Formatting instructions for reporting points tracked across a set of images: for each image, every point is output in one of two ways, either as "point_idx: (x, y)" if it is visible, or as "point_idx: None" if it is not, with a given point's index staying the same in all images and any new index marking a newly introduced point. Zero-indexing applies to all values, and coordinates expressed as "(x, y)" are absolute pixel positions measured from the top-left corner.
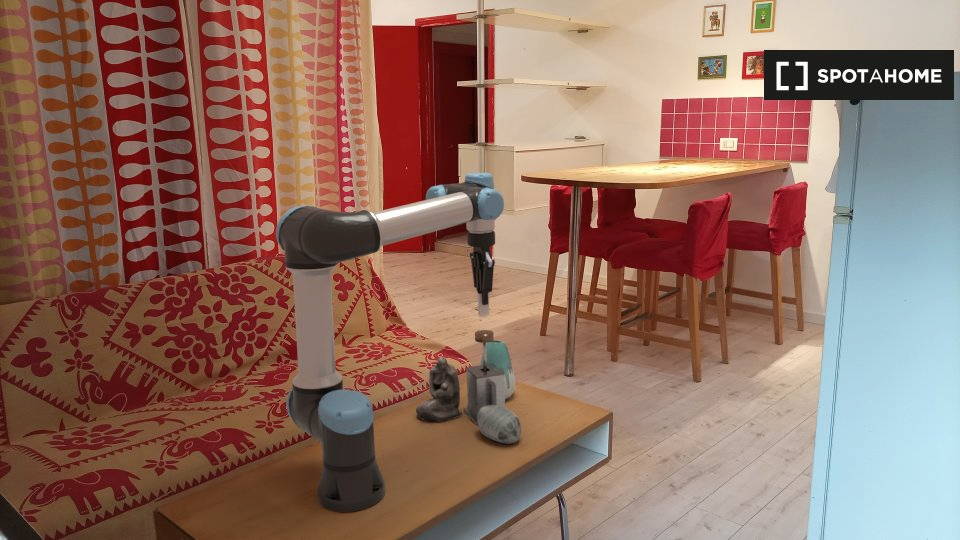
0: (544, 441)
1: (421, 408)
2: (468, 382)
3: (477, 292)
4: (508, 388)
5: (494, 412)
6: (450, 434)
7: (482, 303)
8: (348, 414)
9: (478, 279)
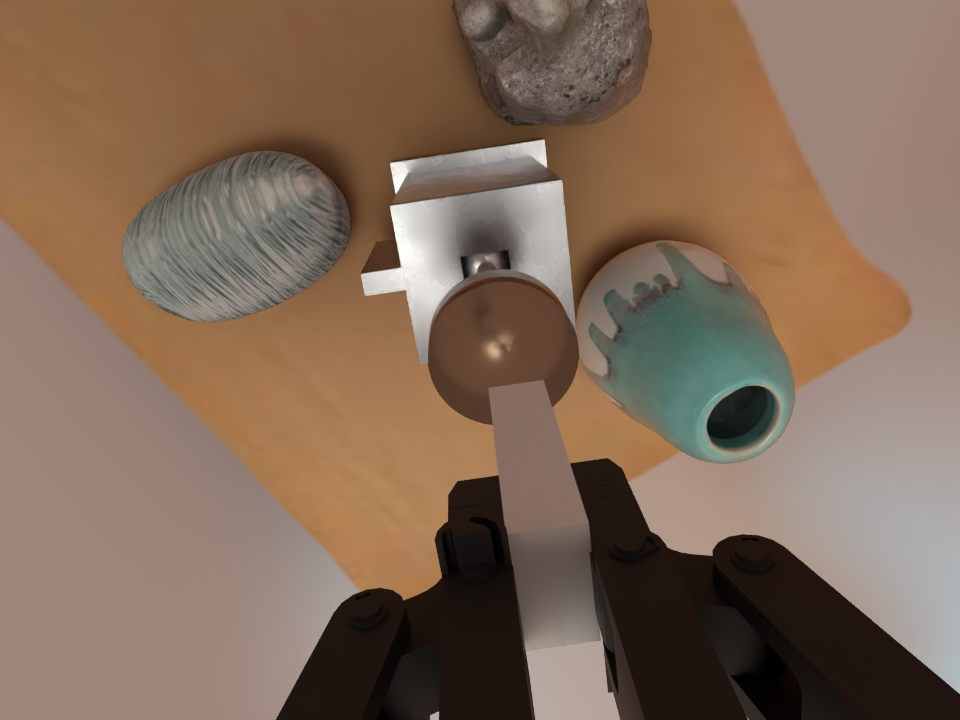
0: (199, 376)
1: None
2: (525, 174)
3: (500, 520)
4: (582, 364)
5: (199, 228)
6: (323, 27)
7: (486, 484)
8: None
9: (641, 711)
